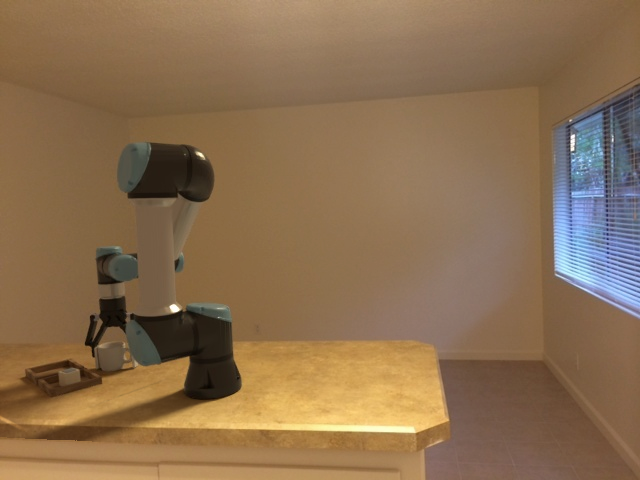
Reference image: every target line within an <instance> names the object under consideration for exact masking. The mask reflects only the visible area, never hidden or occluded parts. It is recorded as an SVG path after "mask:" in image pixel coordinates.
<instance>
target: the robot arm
mask: <svg viewBox="0 0 640 480" xmlns="http://www.w3.org/2000/svg"><path fill="white" fill-rule="evenodd" d="M119 155H120V156H119V159H118V163H117V172H116V180H117V185H118V188H119V190H120V191H121V192H122V193H124V194H127V195H126V197H127V201H129V203H131V204H132V205H133V207H134V216H135V236H136V237H135V238H136V252H131V253H124V252H123V249H122V247H121V245H120V246H119V245H111V246H99V247H97V248H96V249H95V263H96V264H95V265H96V275H97V277H96V278H97V288H98V289H97V291H98V293H97V294H98V297H99V299H98V302H99V305H98V306H99V307H98V308H99V313H93V314H91V315H90V314H89V326H88V330H87V334H86V337H85V339H84V340H85V341H84V346H85V347H90V348H91V357H92V358H94V362H95V363H94V364H95V365H94V366H95V370H98V369H101V365H100V360H99V355H98V349H97V347H98V346H99V345H100V342H101V340H102V338H103V336H104V334H105V332H106V331H107V330H108V329H109V328H113V327H114V328H120V329H121V330H122V332H123V333H124V334H125V338H126V342H127V346H128V348H129V349H130V351H131V354H132V361H131V363H132V369H134V368H136V367H138V366H139V365H140V366H142V367H149V366H155V365H157V366H158V365H161V364H164V363H168V362H173V361H177V360H180V359H185V358H188V357H189V360H188V361H189V363H188V364H189V365H188V368H187V372H186V376H185V380H184V383H183V387H184V389H183V390H184V391H183V392H184V394H185V396H187V397H189V398H193V399H197V400H198V399H199V400H211V399H217V398H218V399H220V398H222V397H226V396H230V395H233V394H235V393H236V392H238V391H239V390H241V388H242V386H243V385H242V383H243V381H242V376H241V374H240V373H241V372H240V371H239V368H238V366H237V363H236V361H235V358H234V357H235V355H234V338H233V337H234V336H233V319H232V312H231V309H230V307H229V306H228V305H226V304H222V303H215V302H192V303H187V304H186V305H185V308H183V305H181V303H179V302H177V296H176V295H177V293H176V292H177V291H176V290H177V289H176V274H179V273H181V272H183V270H184V268H185V261H186V260H185V256H184V253H183V249H184V247H185V244H186V243H187V240H188V238H189V236H190V233H191V231H192V229H193V227H194V224H195V222H196V220H197V218H198V215H199V213H200V211H201V209H202V206H203V203H205V202H207V201H208V200H209V199H210V197H211V195H212V193H213V191H214V187H215V172H214V167H213V165H212V162H211V160H210V159H209V158H208V156H207V155H206V154H205V153H204V152H203V151H202V150H200V149H199V148H198V147H196V146H194V145H191V144H177V143H176V144H174V143H164V142H149V141H148V142H147V141H145V142H141V141H140V142H131V143H127V144H126V145H125V147H124V148H123V149H122V151H121V152H120V154H119ZM134 279H138V293H139V294H138V295H139V297H138V298H139V305H138V306H136V308H135V309H134V310H133V312H128V311H127V303H126V302H127V301H126V296H125V294H126V288H125V282H131V281H133V280H134ZM184 309H185V311H183V310H184ZM127 318H128V320H129V321H127V320H126V319H127ZM99 320H100V321H101V322H102V323H101V325H100V326H99V330H98V331H97V333H96V330H97V326H98V322H99ZM95 333H96V335H95Z"/></svg>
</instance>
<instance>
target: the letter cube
mask: <svg viewBox="0 0 640 480" xmlns="http://www.w3.org/2000/svg"><path fill="white" fill-rule="evenodd" d="M58 373H59V385H60V386H65V385H69V384H73V383H76V382H80V381H81V380H80V370H78V369H75V368H70V369H66V370H63V371H60V372H58Z"/></svg>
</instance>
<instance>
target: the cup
mask: <svg viewBox="0 0 640 480" xmlns="http://www.w3.org/2000/svg"><path fill="white" fill-rule="evenodd" d="M97 346H98V347H97V349H98V355H99V360H100V365H101V367H100V369H101V370H102V371H103V372H105V373H106V372H115V371H116V372H117V371H120V370H122V369H123V368H124V367H125V364H130V363H132V354H131V351H130V349H129V347H126V342H124V341H109V342H105V343H104V342H103V343H101V344H99V345H97ZM127 352H128V354H129V359H127V357H126V353H127Z"/></svg>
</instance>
